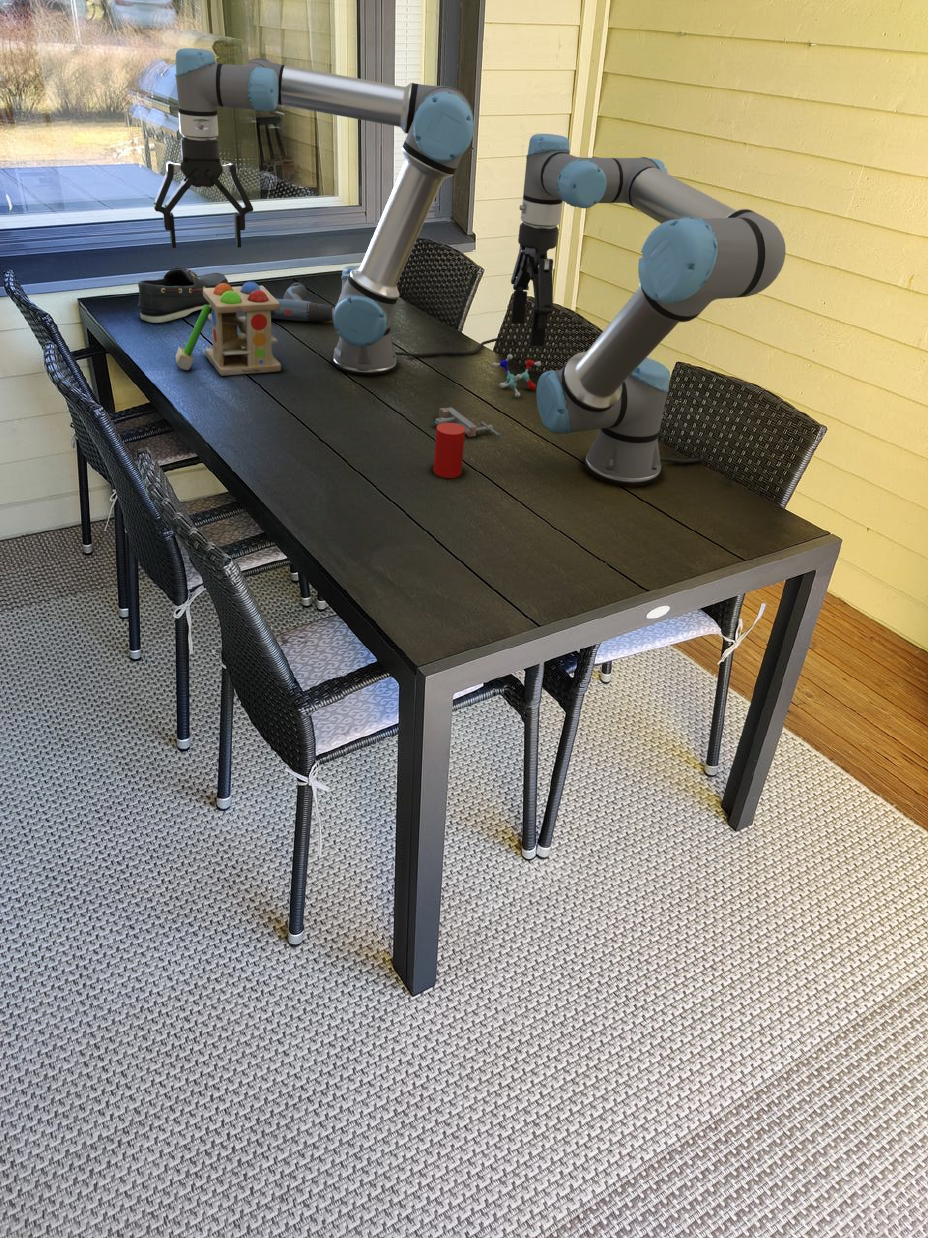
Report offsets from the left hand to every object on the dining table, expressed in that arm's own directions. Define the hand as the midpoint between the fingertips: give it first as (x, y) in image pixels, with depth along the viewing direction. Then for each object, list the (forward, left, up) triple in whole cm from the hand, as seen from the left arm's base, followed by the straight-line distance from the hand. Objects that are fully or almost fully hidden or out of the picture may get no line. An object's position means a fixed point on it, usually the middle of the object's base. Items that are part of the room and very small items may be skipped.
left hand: (206, 246), depth 210 cm
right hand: (-36, +62, -6) cm, 72 cm away
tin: (-11, +68, -28) cm, 75 cm away
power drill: (-44, -26, -28) cm, 59 cm away
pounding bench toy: (-5, -3, -28) cm, 29 cm away
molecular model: (-54, +44, -28) cm, 75 cm away
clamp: (-28, +55, -28) cm, 68 cm away
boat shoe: (-19, -45, -28) cm, 56 cm away
